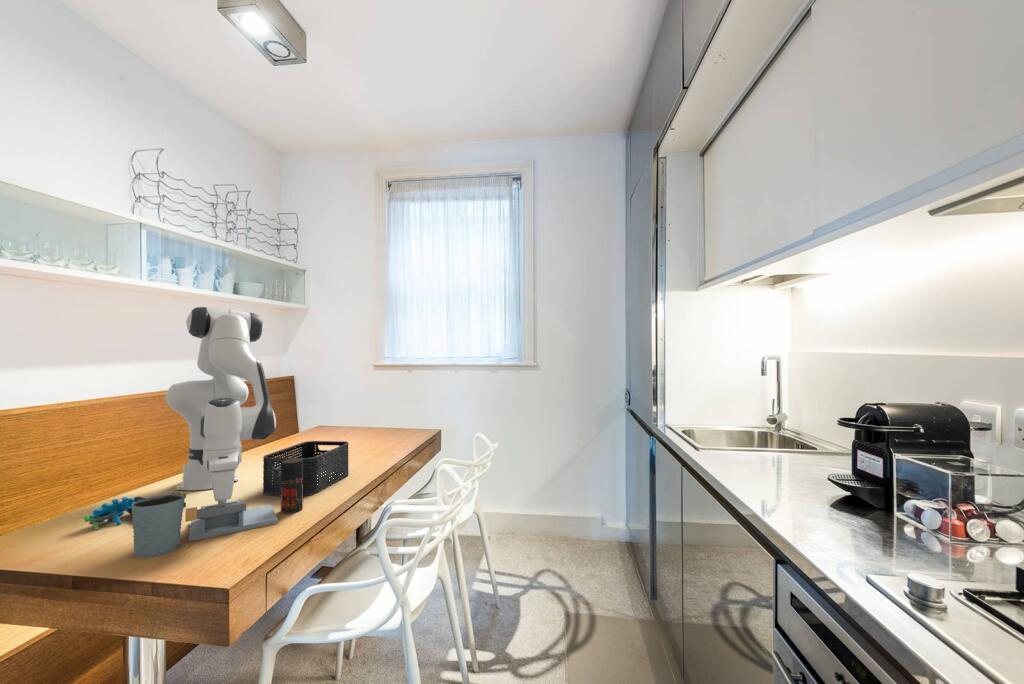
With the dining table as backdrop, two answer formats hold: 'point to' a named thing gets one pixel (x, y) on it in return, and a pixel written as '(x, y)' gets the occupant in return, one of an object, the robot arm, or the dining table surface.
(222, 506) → the latch bar
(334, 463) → the storage bin
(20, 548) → the dining table surface
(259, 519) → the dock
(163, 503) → the embossed plant pot
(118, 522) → the blue green toy
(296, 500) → the deodorant
